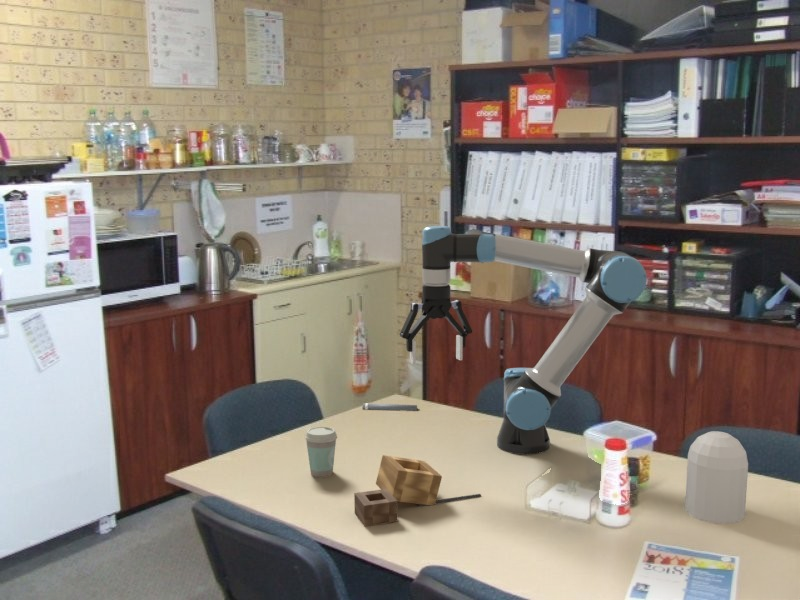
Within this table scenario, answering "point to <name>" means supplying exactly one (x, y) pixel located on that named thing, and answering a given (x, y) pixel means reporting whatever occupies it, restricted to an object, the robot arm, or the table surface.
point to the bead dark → (375, 507)
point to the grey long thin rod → (455, 498)
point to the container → (716, 478)
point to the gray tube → (389, 407)
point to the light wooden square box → (409, 480)
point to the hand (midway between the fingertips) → (436, 361)
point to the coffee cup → (321, 450)
